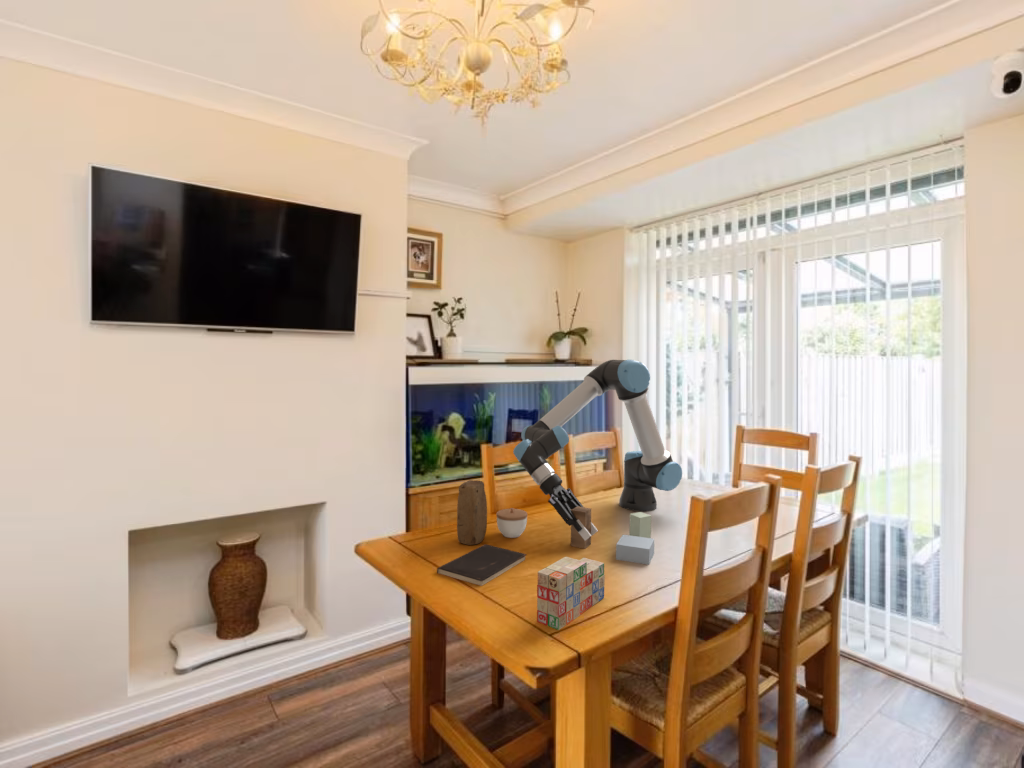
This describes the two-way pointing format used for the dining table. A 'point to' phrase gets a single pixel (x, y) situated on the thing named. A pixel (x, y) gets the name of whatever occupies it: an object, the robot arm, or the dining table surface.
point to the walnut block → (585, 519)
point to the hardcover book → (482, 564)
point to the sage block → (640, 525)
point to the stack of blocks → (568, 590)
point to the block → (471, 512)
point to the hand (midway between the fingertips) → (591, 535)
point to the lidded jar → (511, 522)
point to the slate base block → (635, 549)
